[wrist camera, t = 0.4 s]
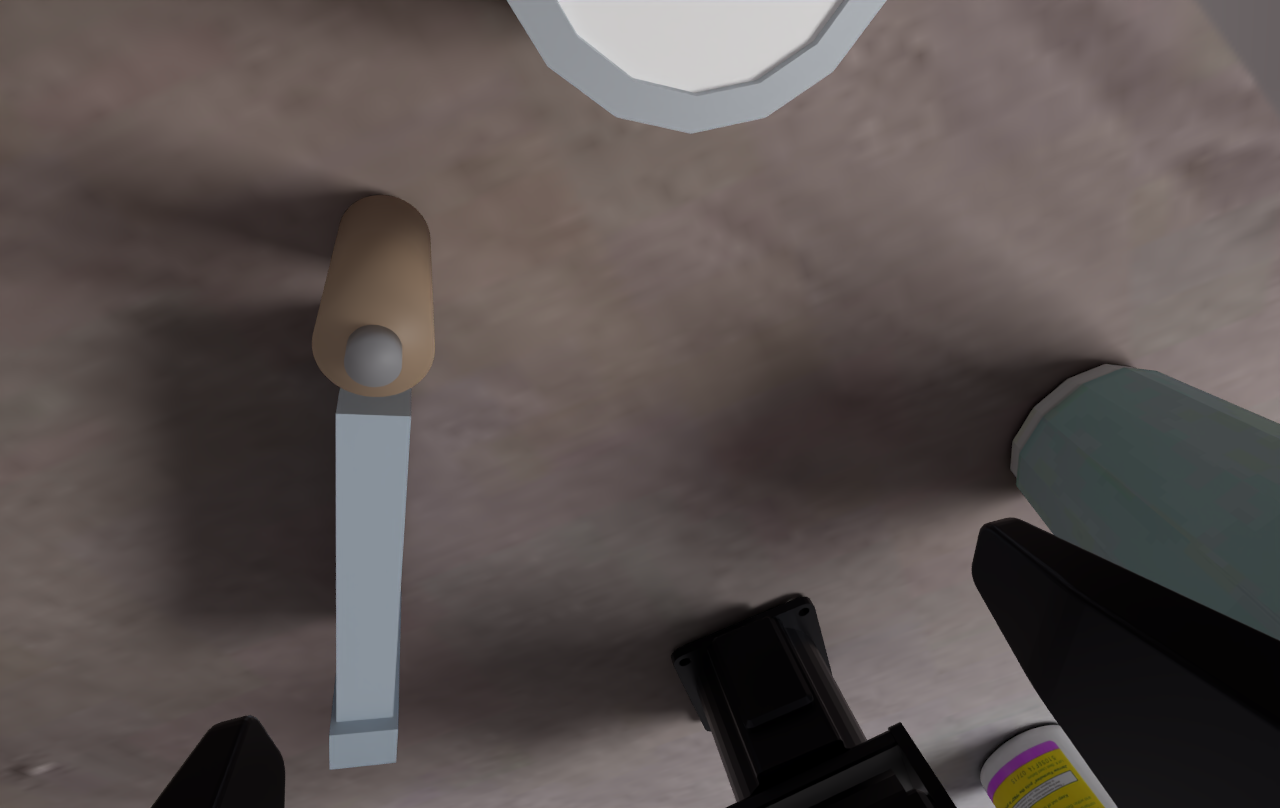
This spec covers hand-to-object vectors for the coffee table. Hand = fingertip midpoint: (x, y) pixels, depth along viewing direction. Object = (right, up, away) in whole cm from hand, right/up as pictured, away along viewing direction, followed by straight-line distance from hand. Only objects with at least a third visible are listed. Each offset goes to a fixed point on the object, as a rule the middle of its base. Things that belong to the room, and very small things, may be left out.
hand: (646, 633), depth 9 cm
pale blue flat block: (-8, +2, +13) cm, 15 cm away
